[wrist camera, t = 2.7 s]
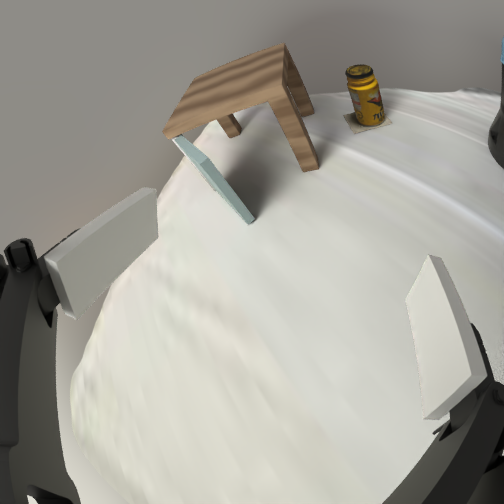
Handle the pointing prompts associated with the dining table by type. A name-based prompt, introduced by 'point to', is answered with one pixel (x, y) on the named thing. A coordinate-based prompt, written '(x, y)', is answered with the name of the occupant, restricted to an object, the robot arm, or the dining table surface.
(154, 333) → the dining table surface
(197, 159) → the pale teal panel
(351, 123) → the condiment
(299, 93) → the step stool
